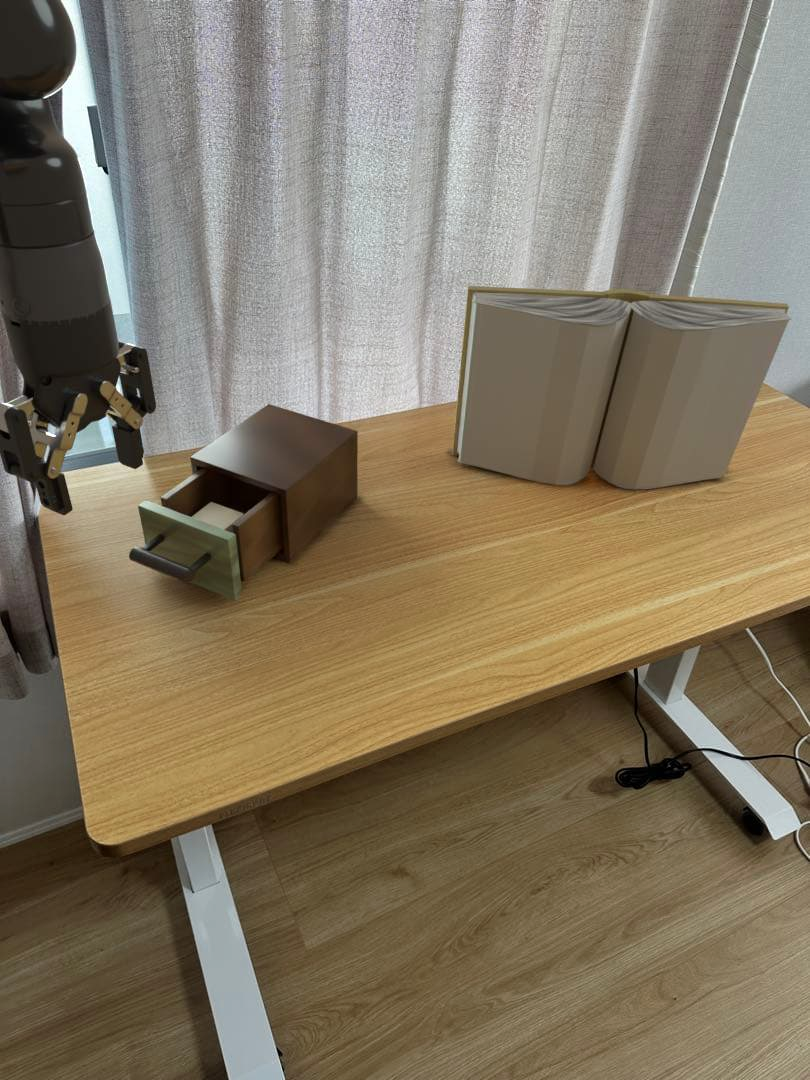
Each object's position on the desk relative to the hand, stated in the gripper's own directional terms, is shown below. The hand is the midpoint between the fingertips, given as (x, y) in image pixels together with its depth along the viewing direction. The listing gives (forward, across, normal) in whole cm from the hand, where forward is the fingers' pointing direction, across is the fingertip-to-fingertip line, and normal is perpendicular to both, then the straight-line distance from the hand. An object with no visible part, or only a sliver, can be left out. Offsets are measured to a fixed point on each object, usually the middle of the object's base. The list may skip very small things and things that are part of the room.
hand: (97, 486), depth 68 cm
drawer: (+17, -14, 0) cm, 22 cm away
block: (+16, -14, 0) cm, 21 cm away
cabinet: (+18, -25, 0) cm, 31 cm away
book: (+18, -54, +30) cm, 64 cm away
